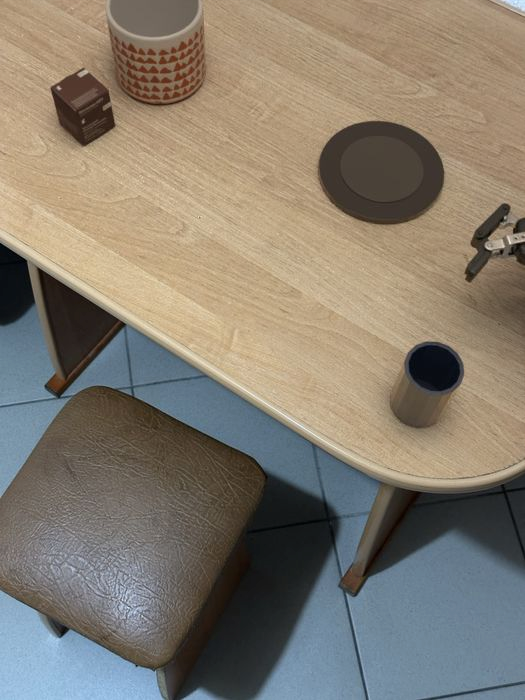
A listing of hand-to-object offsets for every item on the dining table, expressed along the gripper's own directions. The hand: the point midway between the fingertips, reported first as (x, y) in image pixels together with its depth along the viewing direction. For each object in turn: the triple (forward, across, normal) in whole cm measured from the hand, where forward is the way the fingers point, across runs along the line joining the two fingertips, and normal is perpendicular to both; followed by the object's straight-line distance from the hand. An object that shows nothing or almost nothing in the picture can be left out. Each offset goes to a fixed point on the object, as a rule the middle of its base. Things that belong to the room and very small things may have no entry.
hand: (499, 300), depth 95 cm
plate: (-15, -26, +16) cm, 34 cm away
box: (+6, -64, +16) cm, 66 cm away
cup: (+10, -1, +14) cm, 17 cm away
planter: (-8, -63, +16) cm, 66 cm away
